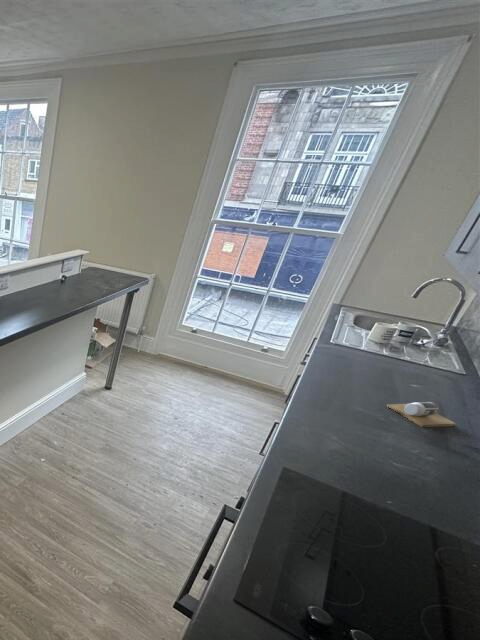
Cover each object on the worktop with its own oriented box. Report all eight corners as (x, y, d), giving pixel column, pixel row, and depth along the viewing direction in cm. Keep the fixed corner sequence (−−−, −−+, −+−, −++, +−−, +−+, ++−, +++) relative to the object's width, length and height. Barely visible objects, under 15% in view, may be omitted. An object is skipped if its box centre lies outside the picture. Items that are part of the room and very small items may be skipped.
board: (454, 425, 137) (456, 423, 137) (421, 427, 135) (423, 424, 134) (416, 405, 147) (418, 403, 147) (385, 406, 145) (387, 404, 144)
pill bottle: (420, 402, 142) (401, 402, 141) (437, 401, 137) (418, 401, 136) (422, 415, 141) (403, 416, 140) (440, 415, 137) (420, 415, 135)
